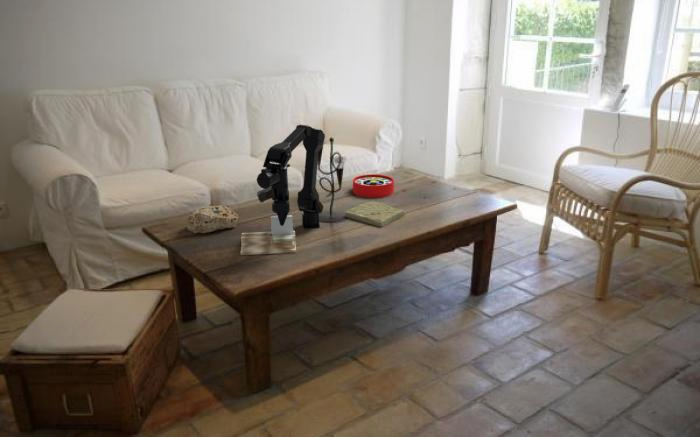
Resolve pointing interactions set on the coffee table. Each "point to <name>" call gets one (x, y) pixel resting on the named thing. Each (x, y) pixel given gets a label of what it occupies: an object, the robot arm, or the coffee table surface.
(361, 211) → the decorative tile
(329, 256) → the coffee table surface
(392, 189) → the toy clock
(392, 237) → the coffee table surface
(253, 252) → the rack
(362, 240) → the coffee table surface
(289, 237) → the offcut stack
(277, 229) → the sheet
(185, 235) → the coffee table surface
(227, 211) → the rock
